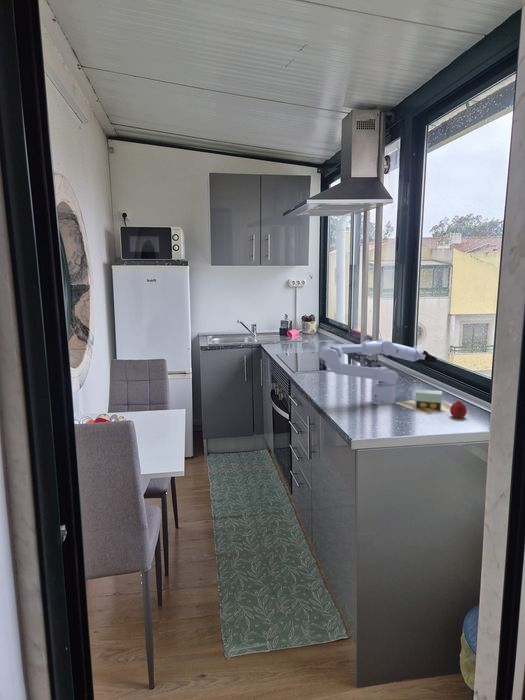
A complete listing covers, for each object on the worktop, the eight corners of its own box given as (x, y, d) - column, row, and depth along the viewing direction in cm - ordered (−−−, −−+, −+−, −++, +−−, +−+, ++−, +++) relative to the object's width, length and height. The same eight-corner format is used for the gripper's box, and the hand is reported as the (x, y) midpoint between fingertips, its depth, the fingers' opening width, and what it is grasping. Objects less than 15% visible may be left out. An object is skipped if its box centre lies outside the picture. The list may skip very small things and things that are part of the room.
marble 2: (433, 410, 185) (433, 403, 185) (427, 408, 188) (428, 401, 187) (438, 409, 186) (439, 402, 186) (433, 407, 189) (433, 400, 188)
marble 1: (422, 409, 187) (423, 402, 186) (417, 407, 189) (418, 400, 189) (428, 408, 188) (428, 401, 187) (423, 406, 191) (423, 399, 190)
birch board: (426, 417, 179) (426, 414, 179) (394, 404, 197) (394, 402, 197) (464, 410, 187) (464, 408, 187) (431, 399, 204) (431, 397, 204)
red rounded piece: (461, 417, 179) (462, 397, 178) (468, 421, 173) (470, 401, 172) (447, 417, 179) (448, 397, 177) (453, 422, 173) (454, 401, 172)
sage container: (415, 408, 187) (415, 392, 186) (416, 405, 192) (416, 389, 191) (441, 411, 183) (441, 394, 182) (441, 407, 188) (442, 391, 187)
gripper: (414, 344, 189) (442, 352, 192) (398, 341, 203) (424, 348, 206) (409, 361, 190) (438, 368, 192) (393, 357, 204) (420, 363, 206)
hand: (431, 359), depth 199 cm, fingers open, 7 cm apart
